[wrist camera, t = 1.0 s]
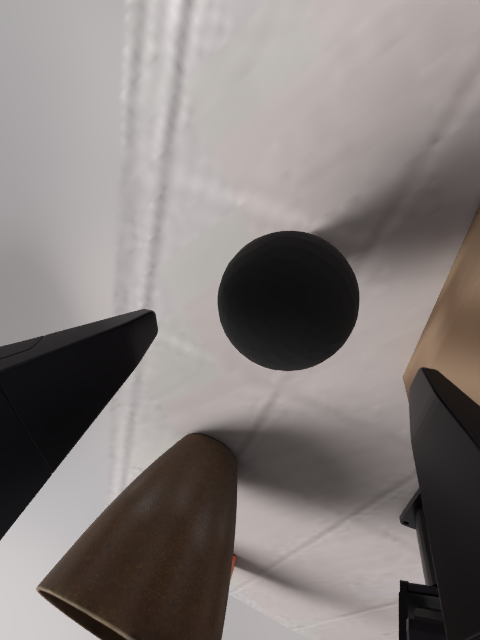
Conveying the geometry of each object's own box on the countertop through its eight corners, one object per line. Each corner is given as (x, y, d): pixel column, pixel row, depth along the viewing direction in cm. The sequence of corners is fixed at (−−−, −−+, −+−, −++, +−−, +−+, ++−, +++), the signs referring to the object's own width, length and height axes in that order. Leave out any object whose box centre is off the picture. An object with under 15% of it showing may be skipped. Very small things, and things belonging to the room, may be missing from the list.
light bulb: (268, 198, 17) (191, 240, 9) (369, 212, 15) (391, 277, 7) (257, 286, 20) (194, 376, 12) (341, 303, 18) (334, 420, 10)
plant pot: (242, 507, 37) (185, 697, 24) (147, 453, 38) (44, 606, 25) (289, 456, 28) (239, 710, 15) (164, 389, 30) (21, 571, 17)
